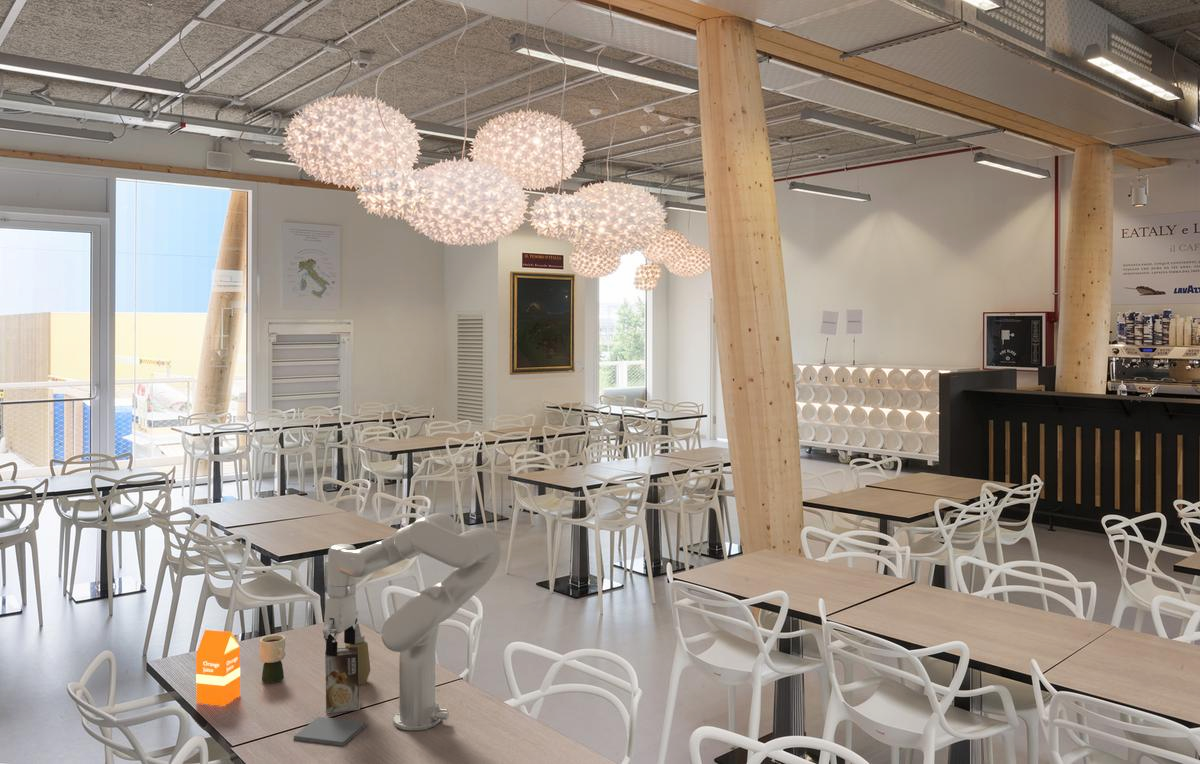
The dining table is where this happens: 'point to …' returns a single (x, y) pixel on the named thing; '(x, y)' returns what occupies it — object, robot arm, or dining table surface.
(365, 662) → the squeeze bottle
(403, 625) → the robot arm
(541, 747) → the dining table surface
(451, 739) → the dining table surface
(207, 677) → the orange juice
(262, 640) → the character mug
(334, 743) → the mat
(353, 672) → the coffee box
